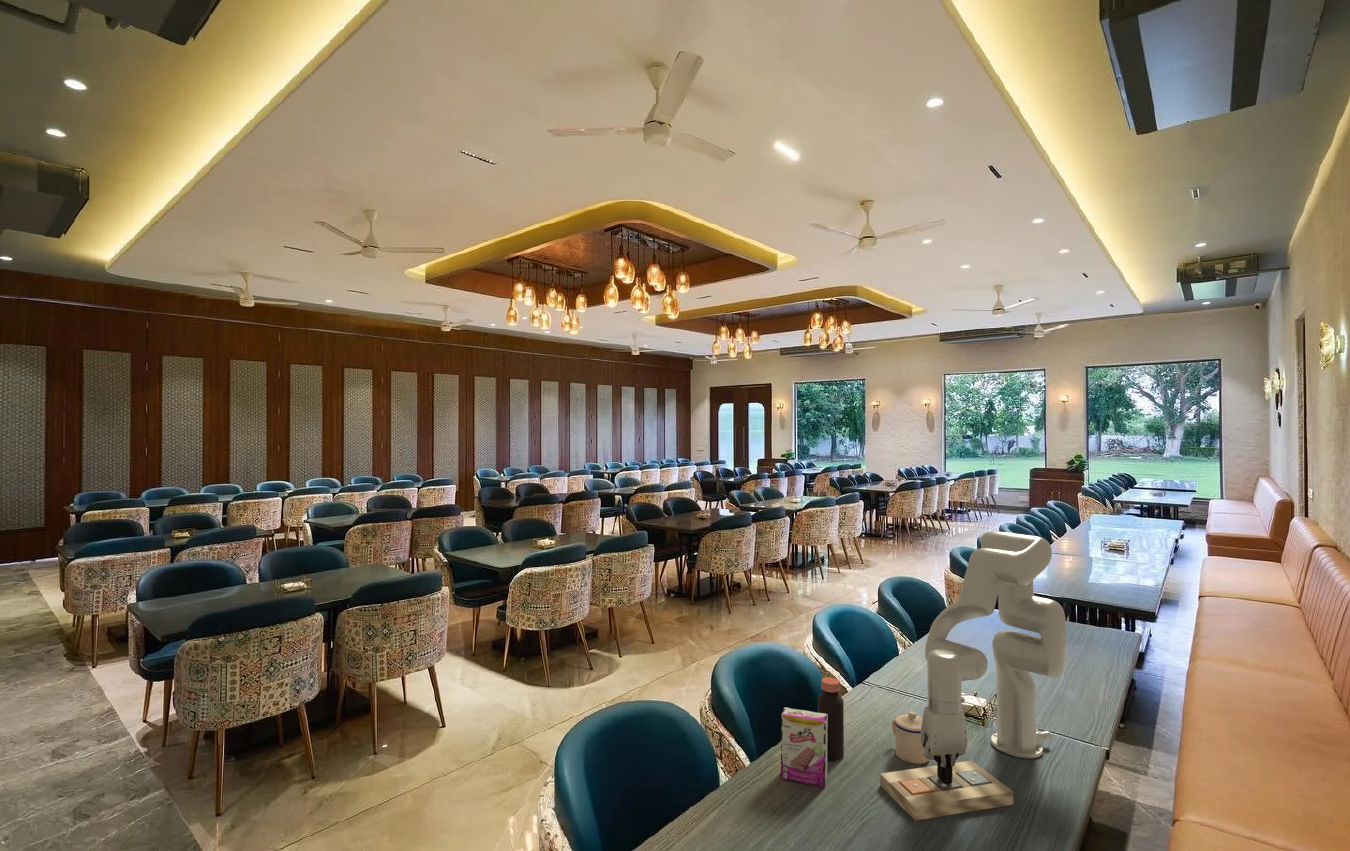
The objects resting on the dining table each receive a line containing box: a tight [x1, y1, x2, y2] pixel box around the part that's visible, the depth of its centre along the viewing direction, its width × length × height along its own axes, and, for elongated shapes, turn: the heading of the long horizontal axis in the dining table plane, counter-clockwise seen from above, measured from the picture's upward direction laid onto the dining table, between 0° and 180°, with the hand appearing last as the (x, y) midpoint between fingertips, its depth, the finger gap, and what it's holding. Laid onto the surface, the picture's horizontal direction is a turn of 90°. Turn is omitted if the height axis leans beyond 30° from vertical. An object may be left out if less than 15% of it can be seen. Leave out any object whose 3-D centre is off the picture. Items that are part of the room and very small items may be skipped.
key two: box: [958, 770, 990, 786], centre depth 149 cm, size 5×5×3 cm
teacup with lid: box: [891, 711, 930, 765], centre depth 167 cm, size 12×9×12 cm
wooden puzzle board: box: [879, 760, 1014, 822], centre depth 147 cm, size 26×14×3 cm, turn 103°
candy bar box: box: [780, 707, 828, 788], centre depth 154 cm, size 11×5×16 cm, turn 71°
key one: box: [900, 779, 932, 796], centre depth 146 cm, size 5×5×3 cm
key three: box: [929, 776, 961, 791], centre depth 147 cm, size 5×5×3 cm
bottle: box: [817, 676, 845, 762], centre depth 166 cm, size 7×7×20 cm
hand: (944, 780), depth 147 cm, fingers closed
